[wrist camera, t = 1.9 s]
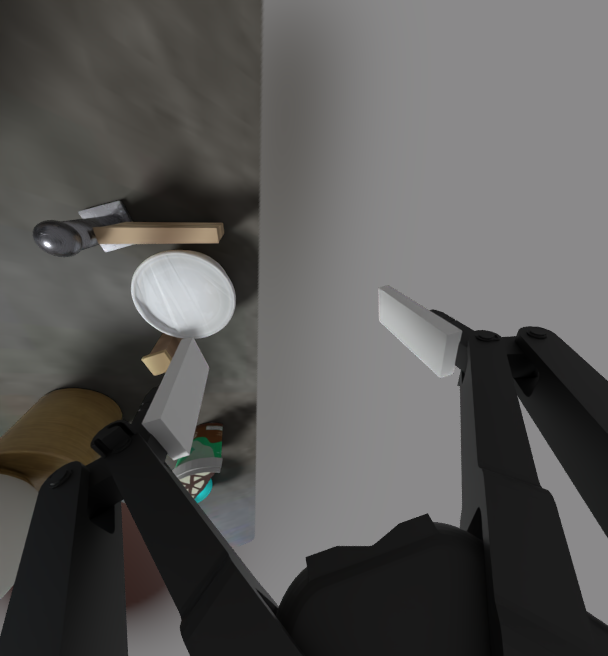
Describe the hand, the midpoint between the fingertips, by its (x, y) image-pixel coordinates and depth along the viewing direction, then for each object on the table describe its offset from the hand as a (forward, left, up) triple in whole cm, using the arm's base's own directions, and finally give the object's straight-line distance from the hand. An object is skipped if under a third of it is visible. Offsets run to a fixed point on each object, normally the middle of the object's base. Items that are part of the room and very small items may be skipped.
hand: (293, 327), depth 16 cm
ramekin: (-11, 0, -19) cm, 22 cm away
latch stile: (-16, -5, -19) cm, 25 cm away
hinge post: (-16, +9, -19) cm, 26 cm away
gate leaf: (-9, +7, -18) cm, 22 cm away
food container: (-24, -28, -19) cm, 41 cm away
